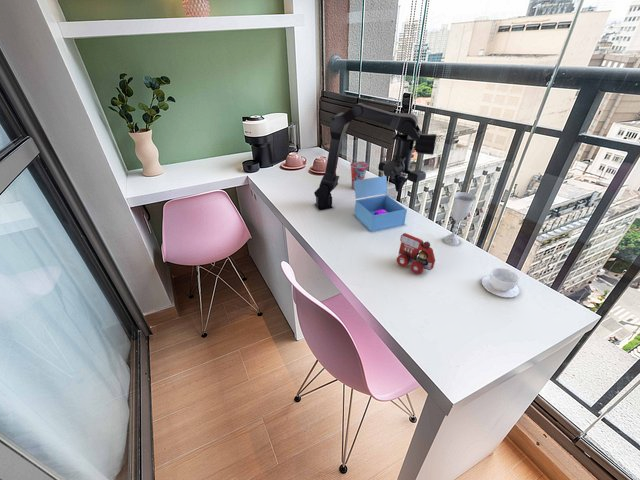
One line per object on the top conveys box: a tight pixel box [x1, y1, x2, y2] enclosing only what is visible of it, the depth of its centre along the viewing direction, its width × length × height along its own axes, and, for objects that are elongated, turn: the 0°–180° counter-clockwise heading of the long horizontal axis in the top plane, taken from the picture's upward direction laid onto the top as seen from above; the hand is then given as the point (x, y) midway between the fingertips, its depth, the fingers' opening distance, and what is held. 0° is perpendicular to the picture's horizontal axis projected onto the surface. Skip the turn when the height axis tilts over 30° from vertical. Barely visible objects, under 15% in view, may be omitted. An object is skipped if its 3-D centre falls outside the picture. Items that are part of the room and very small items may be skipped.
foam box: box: [354, 194, 408, 233], centre depth 126 cm, size 15×15×7 cm
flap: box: [354, 175, 388, 200], centre depth 128 cm, size 7×15×1 cm
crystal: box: [374, 209, 387, 215], centre depth 126 cm, size 5×5×5 cm
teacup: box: [481, 267, 521, 298], centre depth 91 cm, size 10×10×5 cm
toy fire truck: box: [396, 232, 436, 275], centre depth 99 cm, size 7×12×10 cm, turn 44°
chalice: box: [443, 191, 477, 246], centre depth 108 cm, size 7×7×18 cm
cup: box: [350, 161, 369, 190], centre depth 153 cm, size 9×8×12 cm
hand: (397, 191), depth 122 cm, fingers closed
